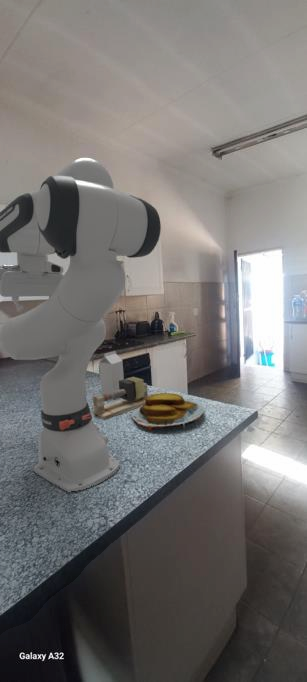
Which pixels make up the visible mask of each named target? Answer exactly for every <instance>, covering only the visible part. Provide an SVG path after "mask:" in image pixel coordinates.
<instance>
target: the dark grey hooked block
mask: <svg viewBox="0 0 307 682" xmlns="http://www.w3.org/2000/svg"><path fill="white" fill-rule="evenodd" d="M124 388H126V389H127V394H126V395H123V396H120V397H119V398H120V399H121V400H123V399H124V400H127V401H129V402H130V401H133V400H135V396H134V382H131V381H127V380H126V379H125V378H124V379H123V380H120V381H119V390H120V389H124Z"/></svg>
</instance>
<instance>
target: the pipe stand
mask: <svg viewBox="0 0 307 682" xmlns="http://www.w3.org/2000/svg"><path fill="white" fill-rule="evenodd" d="M126 394H127V389H126V388H124V389H120V390H117V391H114V392H110V393H107V394H103V395H102V394H95V395H92V403H93V408H92V409H91V414H94V415H96V416H98V417H100V419H103V420H107V419H108V420H109V419H111V418H113V417H116V416H118V415H121V414H124V413H127V412H129V411H132V410H133V411H134V410H136V409H137V408H139V407H140V406H143V404H145V403H146V402H145V399H146V397H148V396H149V395H148V383H146V382H144V396H145V397H142V398H139V399H135V400H133V401H130V402H129V401H127V400H124V399H119V400H117V401H114V402H111V403H108V404H105V403H104V402H108V401H109V400H112V399H113V398H116V397H118V398H120V397H119V396H123V395H126ZM116 399H117V398H116ZM113 400H114V399H113Z"/></svg>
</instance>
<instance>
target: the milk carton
mask: <svg viewBox="0 0 307 682" xmlns="http://www.w3.org/2000/svg"><path fill="white" fill-rule="evenodd" d="M103 355H104V356H103V357H102V359H101V360H100V361H99V362H98V366H99V367H98V368H99V378H100V379H99V380H100V391H101V395H103V394H107V393H110V392H114V391H117V390H119V381H120V380H123V379H124V380H125V378H124V377H125V375H124V366H123V364H124V363H123V359H122V358H121V357H120V356H119V355H118V354H117V352H116V350H113V351H110V352H107V353H104V354H103ZM118 398H120V396H119V397H116V398H113V400H116V399H118Z"/></svg>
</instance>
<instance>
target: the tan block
mask: <svg viewBox="0 0 307 682" xmlns="http://www.w3.org/2000/svg"><path fill="white" fill-rule="evenodd" d="M125 380H127V381H131V382H134V396H135V399H139V398H142V397H145V396H144V383H145V382H144V379H143V378H139V377H135V376H131V377H128V378H125Z"/></svg>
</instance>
